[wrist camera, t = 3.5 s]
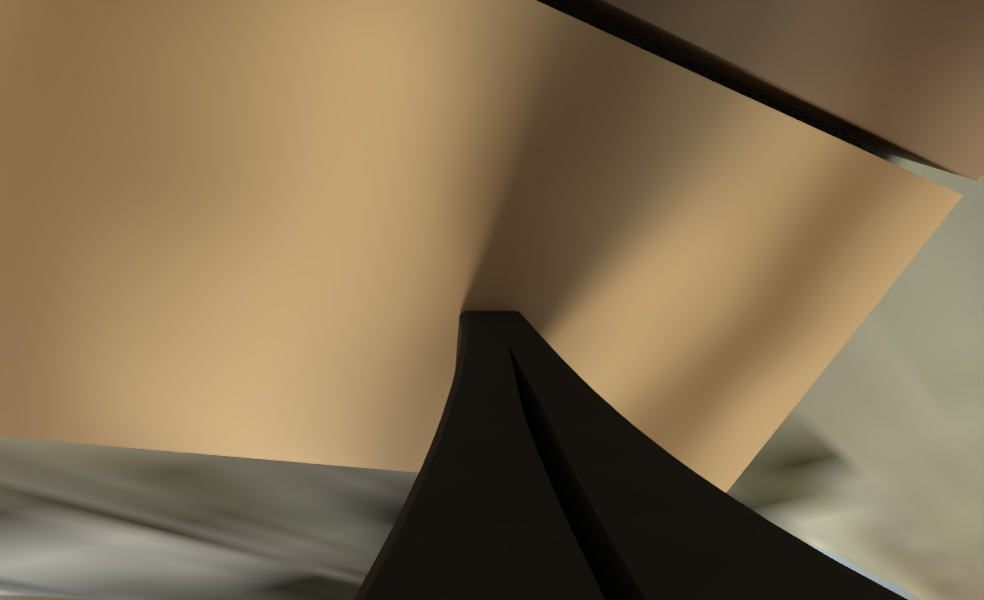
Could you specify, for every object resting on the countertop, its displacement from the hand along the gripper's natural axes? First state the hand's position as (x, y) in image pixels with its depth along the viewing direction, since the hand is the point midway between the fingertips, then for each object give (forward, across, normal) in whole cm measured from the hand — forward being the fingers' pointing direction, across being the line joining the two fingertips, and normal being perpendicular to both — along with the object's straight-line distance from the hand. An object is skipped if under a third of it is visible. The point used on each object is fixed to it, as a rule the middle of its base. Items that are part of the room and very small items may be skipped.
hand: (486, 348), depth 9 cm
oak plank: (+2, 0, -1) cm, 2 cm away
